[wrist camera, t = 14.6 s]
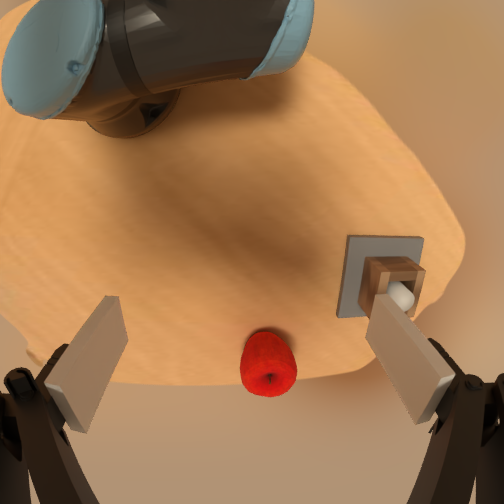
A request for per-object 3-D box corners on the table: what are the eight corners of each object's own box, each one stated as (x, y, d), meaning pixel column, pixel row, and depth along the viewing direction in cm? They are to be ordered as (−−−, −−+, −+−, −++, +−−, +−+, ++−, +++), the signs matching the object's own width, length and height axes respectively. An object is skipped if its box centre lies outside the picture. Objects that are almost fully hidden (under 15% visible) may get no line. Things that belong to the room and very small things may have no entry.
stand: (347, 234, 43) (371, 256, 35) (420, 236, 44) (452, 255, 35) (336, 314, 48) (353, 346, 39) (404, 309, 49) (428, 336, 40)
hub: (365, 256, 43) (381, 272, 38) (406, 256, 44) (425, 270, 38) (357, 302, 46) (370, 321, 40) (397, 299, 46) (413, 316, 41)
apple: (298, 345, 50) (311, 387, 40) (257, 367, 51) (261, 411, 41) (272, 311, 47) (280, 353, 37) (228, 336, 49) (227, 380, 38)
